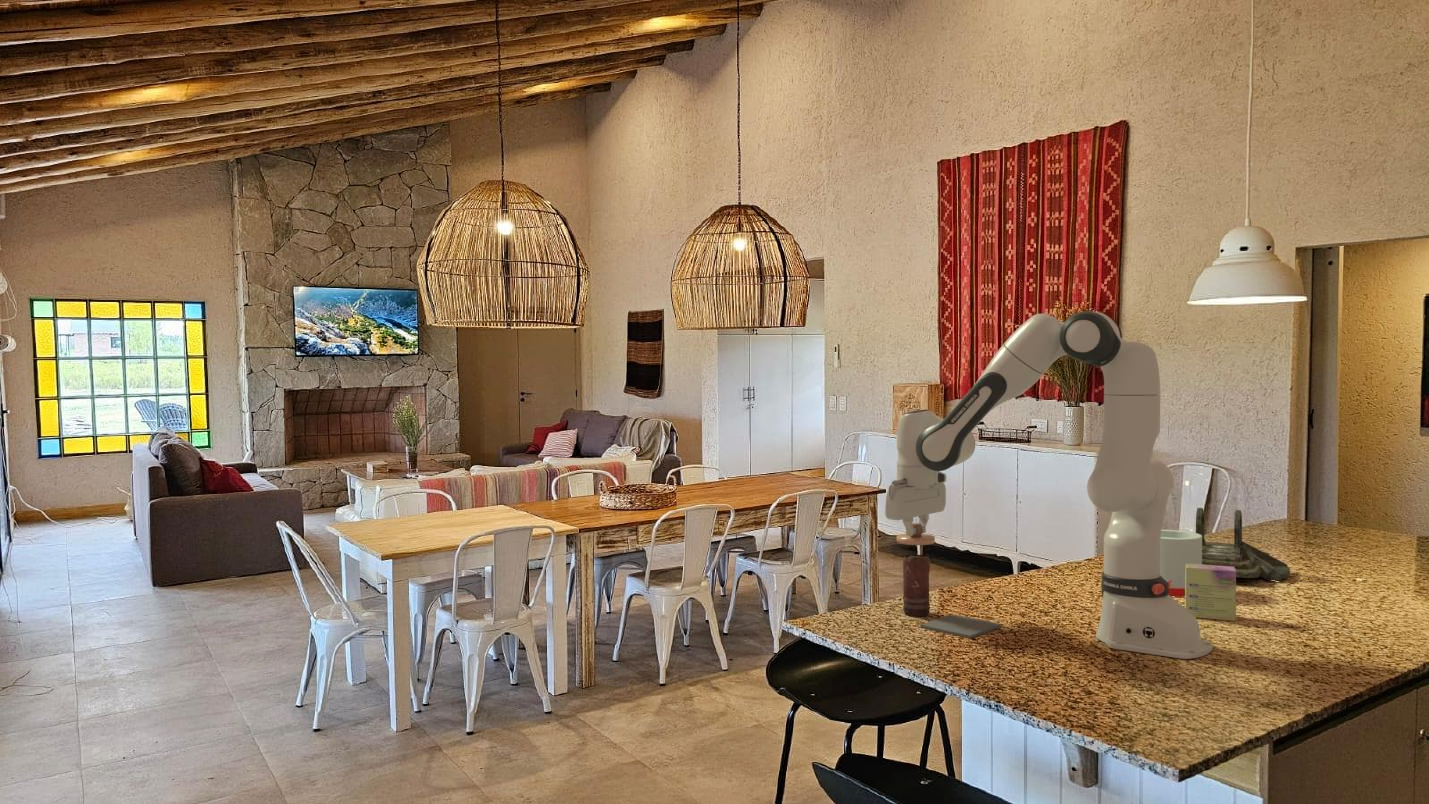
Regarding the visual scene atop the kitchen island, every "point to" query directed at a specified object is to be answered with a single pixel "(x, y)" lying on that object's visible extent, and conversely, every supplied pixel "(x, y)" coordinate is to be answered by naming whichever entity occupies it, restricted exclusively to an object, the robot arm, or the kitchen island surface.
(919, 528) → the lid
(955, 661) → the kitchen island surface
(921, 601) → the can
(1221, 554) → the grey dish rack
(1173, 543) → the container
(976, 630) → the mat
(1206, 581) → the box
